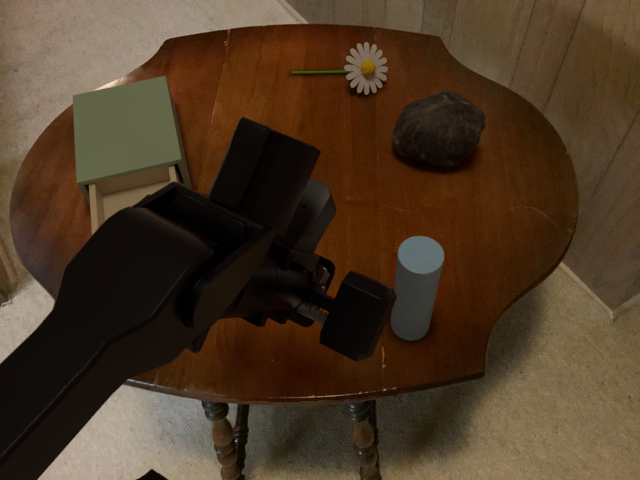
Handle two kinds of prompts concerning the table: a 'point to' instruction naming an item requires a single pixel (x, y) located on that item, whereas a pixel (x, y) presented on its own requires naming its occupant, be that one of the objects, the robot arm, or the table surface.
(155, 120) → the cabinet
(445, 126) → the rock
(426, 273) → the canister
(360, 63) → the decorative flower
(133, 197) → the drawer
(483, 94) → the table surface
